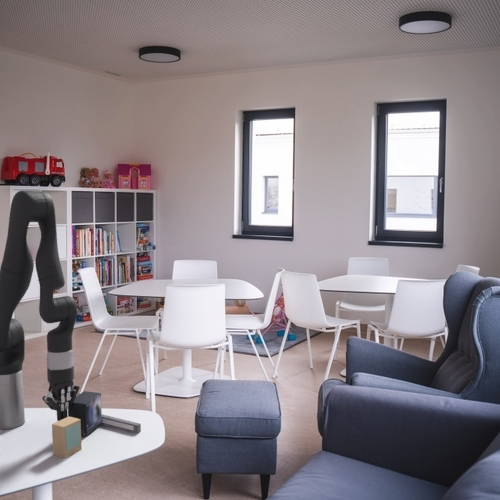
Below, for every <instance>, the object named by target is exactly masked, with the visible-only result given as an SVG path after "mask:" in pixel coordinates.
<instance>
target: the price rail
mask: <svg viewBox="0 0 500 500" xmlns="http://www.w3.org/2000/svg"><path fill="white" fill-rule="evenodd" d="M102 425H103V426H106V427H107V426H108V427H111V428H115V429H118V430H119V429H120V430H124V431H128V432H131V433H134V434H135V433H136V434H139V433H141V431H142V430H141V429H142V428H141V425H142V424H141V423H138V422H134V421H131V420H126V419H122V418H119V417H115V416H110V415H107V414H102Z"/></svg>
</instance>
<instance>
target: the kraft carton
mask: <svg viewBox="0 0 500 500" xmlns="http://www.w3.org/2000/svg"><path fill="white" fill-rule="evenodd" d="M51 435H52V437H51V438H52V455H53V456H57V457H60V458H63V459H66V458H68V457H70V456H72V455H74V454H76V453H78V452H79V451H81V450H82V436H81V420H80V419H77V418H73V417H66V418H64V419H62V420H60V421H58V420H57V421H56V422H53V423H52V424H51Z"/></svg>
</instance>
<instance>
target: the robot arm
mask: <svg viewBox="0 0 500 500" xmlns="http://www.w3.org/2000/svg"><path fill="white" fill-rule="evenodd" d="M55 209H56V208H55V203H54V200H53V197H52V196H51V194H49V193H48V192H46V191H42V190H40V191H38V190H19V191H17V192H16V193H15V194H14V195H13V197H12V200H11V204H10V210H9V217H8V218H9V219H8V227H7V236H6V241H5V247H4V252H3V257H2V261H1V264H0V429H2V430H6V429H8V430H10V429H14V428H19V427H21V426H22V425H24V424H25V422H26V418H25V417H26V416H25V397H24V377H23V376H24V375H23V364H24V361H25V347H26V344H25V343H26V341H25V339H26V338H25V332H24V331H25V330H24V327H23V325H22V323H21V322H20V321H19V320H18V319H16V318H13V315H14V312H15V311H16V309H17V307H18V305H19V304H20V302H21V301H22V299H23V298H24V296H25V295H26V293H27V291H28V289H29V287H30V285H31V282H32V277H33V272H34V269H35V271H36V275H37V280H38V283H39V303H38V305H39V306H38V308H39V309H38V311H39V312H38V313H39V316H40V318H41V320H43V322H44V323H46V324H55V323H59V324H58V325H57V326H56V327H54V328H52V329H51V330H49V331H48V332H47V334H46V347H47V348H46V351H47V353H46V375H47V376H46V377H47V382H48V384H49V385H48V386H49V387H48V393H47V394H46V395H43V396H42V401H43V402H44V403H45V404H46V405H47V407H48V408H49V409H50V410H52V411H56V421H57V422H58V421H60V420H62V419H64V418H66V417H68V407H69V406H70V405H72V404H73V402H74V400H75V398H76V396H77V395H78V392H79V390H80V388H81V387H80V386H79V385H75V384H74V379H75V364H74V362H75V361H74V360H75V359H74V358H75V357H74V351H73V333H74V329H75V325H76V321H77V320H76V319H77V318H78V304H77V302H76V299H74V298H73V297H72V296H69V295H64V296H60V297H58V296H57V297H54V293H55V291H58V290H61V289H62V288H63V287H64V286H65V282H66V281H65V276H64V274H63V273H64V272H63V268H62V264H61V260H60V254H59V248H58V235H57V234H58V233H57V221H56V210H55ZM30 223H37V224H38V227H39V231H40V240H39V245H38V249H37V251H36V256H35V263H34V259H33V256H32V253H31V250H30V247H29V246H28V241H27V240H28V239H27V236H28V229H29V225H30ZM34 266H35V267H34Z"/></svg>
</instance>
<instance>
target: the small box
mask: <svg viewBox="0 0 500 500" xmlns="http://www.w3.org/2000/svg"><path fill="white" fill-rule="evenodd" d="M67 414H68V417H73V418H77V419H80V420H81V437H85V438H86V437H87V436H89V435H90V434H91V433H93V432H94V431H95V430H96V429H98V428H99V427H100V426H102V425H103V424H102V392H96V391H88V390H84V391H82V392H81V393H79V394H77V395H76V398H75V400H74V402H73V404H72V405H70V406H69V407H68V409H67Z"/></svg>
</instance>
